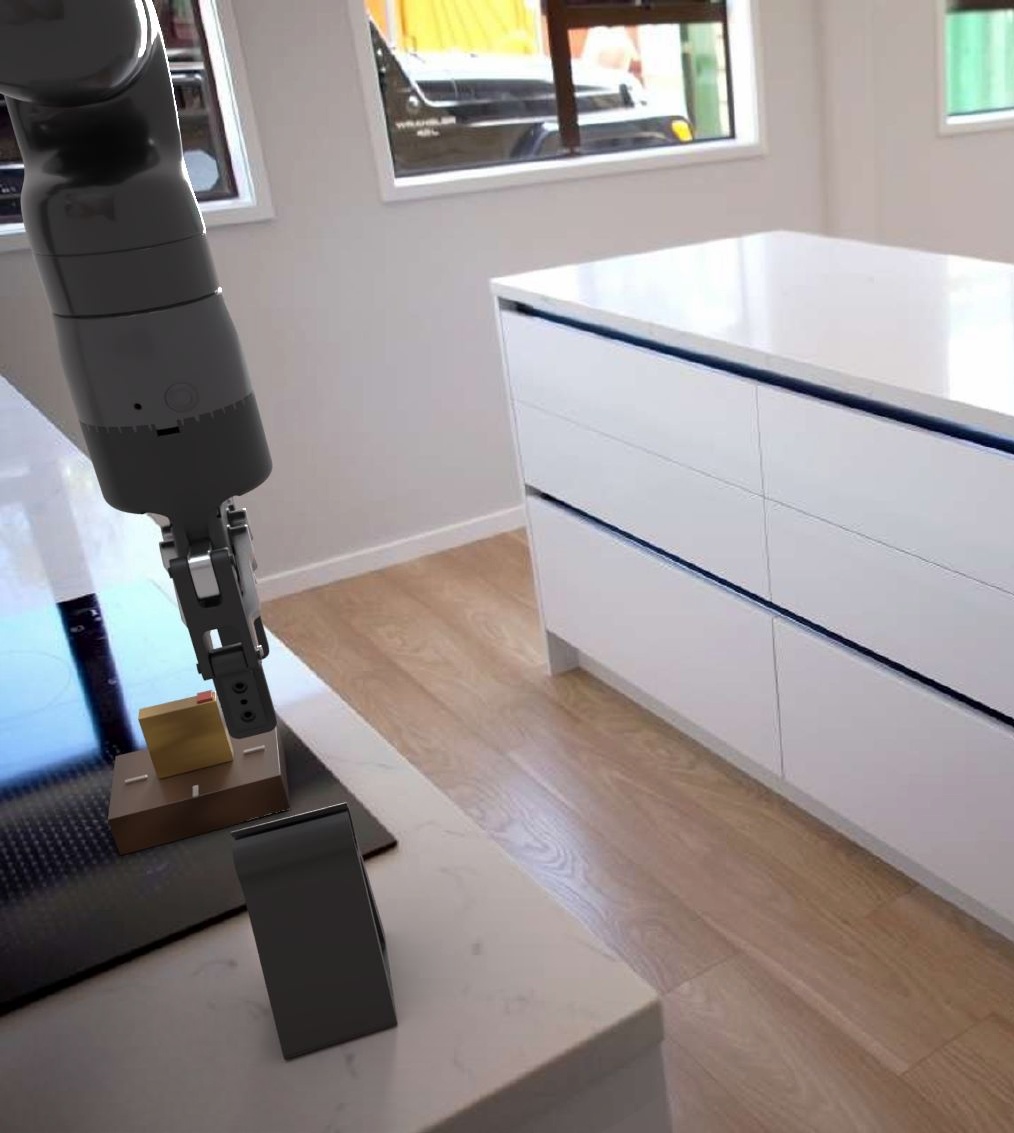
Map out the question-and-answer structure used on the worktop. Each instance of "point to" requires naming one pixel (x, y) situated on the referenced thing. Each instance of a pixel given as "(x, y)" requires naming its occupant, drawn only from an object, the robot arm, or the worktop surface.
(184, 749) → the lock knob
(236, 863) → the phone stand
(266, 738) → the plate
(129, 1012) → the worktop surface
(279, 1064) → the worktop surface
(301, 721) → the worktop surface
